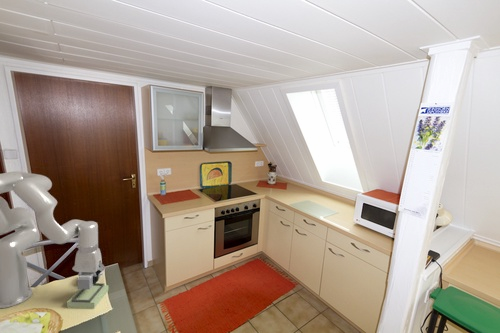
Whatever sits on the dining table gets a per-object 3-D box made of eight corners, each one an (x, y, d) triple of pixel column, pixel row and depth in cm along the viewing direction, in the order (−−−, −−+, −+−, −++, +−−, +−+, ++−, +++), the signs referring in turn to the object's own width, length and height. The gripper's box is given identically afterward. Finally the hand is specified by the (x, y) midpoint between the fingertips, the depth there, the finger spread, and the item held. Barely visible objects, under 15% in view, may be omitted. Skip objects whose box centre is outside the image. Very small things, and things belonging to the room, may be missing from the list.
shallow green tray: (67, 307, 103) (66, 300, 103) (84, 289, 115) (83, 282, 115) (94, 308, 104) (94, 300, 104) (108, 290, 116) (108, 283, 116)
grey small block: (78, 289, 104) (77, 277, 103) (89, 276, 113) (89, 266, 112) (89, 289, 105) (89, 277, 104) (100, 277, 114) (100, 266, 113)
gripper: (63, 251, 101) (65, 287, 104) (102, 252, 103) (103, 287, 106) (75, 243, 109) (76, 276, 112) (111, 244, 110) (111, 277, 113)
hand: (89, 281), depth 109 cm, fingers closed on grey small block, 5 cm apart
